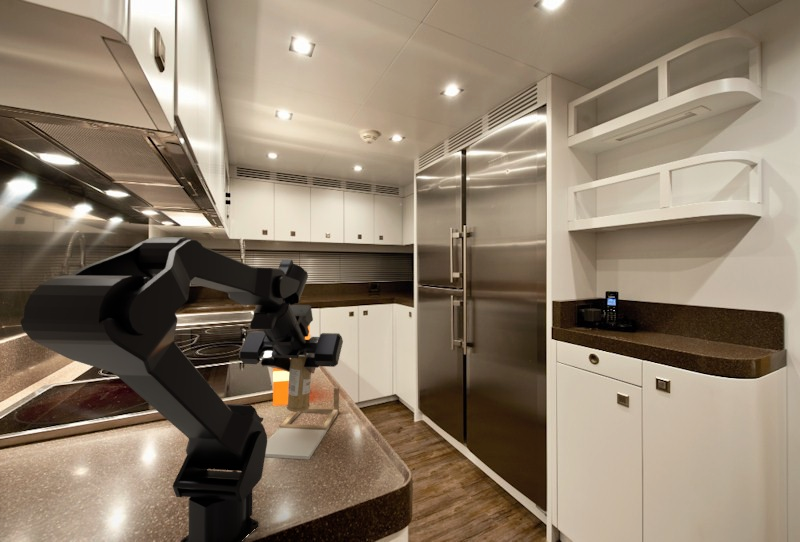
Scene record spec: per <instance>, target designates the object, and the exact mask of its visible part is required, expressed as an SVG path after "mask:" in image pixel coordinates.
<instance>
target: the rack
mask: <svg viewBox="0 0 800 542" xmlns="http://www.w3.org/2000/svg"><path fill="white" fill-rule="evenodd" d="M339 412H340V386H335V387H333V407H328V406H326V407H321V406H309V408H308V409H307V410H305V411H302V412H292V411H291V413H290V414H289V415H288V416H287V418H285V420H284V421H283V422H282V423H281V424H280V425H279V428H293V429H314V430H326V429H327V431H328V430H329V429H330V427H331V426H332V423H334V421H335V419H336V418H337V416H338V415H339ZM301 413H305V414H306V413H307V414H326V413H330V414H329V416H328V417H327V419H326V421H325V422H324V423H323V424H322V425H319V424H318V425H316V424H315V425H314V424H299V423H298V424H297V423H295V424H293V423H292V422H294V421H295V419H297V417H298V416H299V415H300V414H301ZM337 414H338V415H337ZM279 428H278V429H279Z"/></svg>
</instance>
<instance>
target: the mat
mask: <svg viewBox="0 0 800 542" xmlns="http://www.w3.org/2000/svg"><path fill="white" fill-rule="evenodd" d="M327 432H328V430H327V429H326V430H314V429H293V428H278V429H277V430H276V431H275V432H274V433H273V434H272V435H271V436H270V437H269V438H267V447H266V453H265V458H275V459H293V460H294V459H295V460H310V459H311V458H312V456H313V454H314V453H315V451H316V449H318V446H319V444H320V443H321V441H322V440H323V438H324V437H325V435H326V433H327Z"/></svg>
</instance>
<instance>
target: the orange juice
mask: <svg viewBox="0 0 800 542" xmlns="http://www.w3.org/2000/svg"><path fill="white" fill-rule="evenodd" d="M310 324H311V323H310ZM310 324H309V326H308V329H309V334H308V337H306V336H305V340H309V339H310V338H311V335H310V334H311V333H310V332H311V331H310V330H311V329H310ZM290 359H291V358H290ZM272 383H273V384H272V406H273V407H275V406H287V404H288V385H289V372H287V371H283V370H280V369H276V368H272Z"/></svg>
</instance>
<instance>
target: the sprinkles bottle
mask: <svg viewBox="0 0 800 542" xmlns="http://www.w3.org/2000/svg"><path fill="white" fill-rule="evenodd" d="M306 358H307V355H306V356H299V357H298V358H291V362H290V371H289V385H288V404H287V405H286V410H288V411H289V412H291V413H292V412H301V413H303V412H302V411H305V410H307V409H308V408H309V407H310V396H311V395H310V394H311V393H310V392H311V380H312V373H311V372H309V371H308V370H307V369H306V368H305V367H304V364H305V361H306ZM309 395H310V396H309Z"/></svg>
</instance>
